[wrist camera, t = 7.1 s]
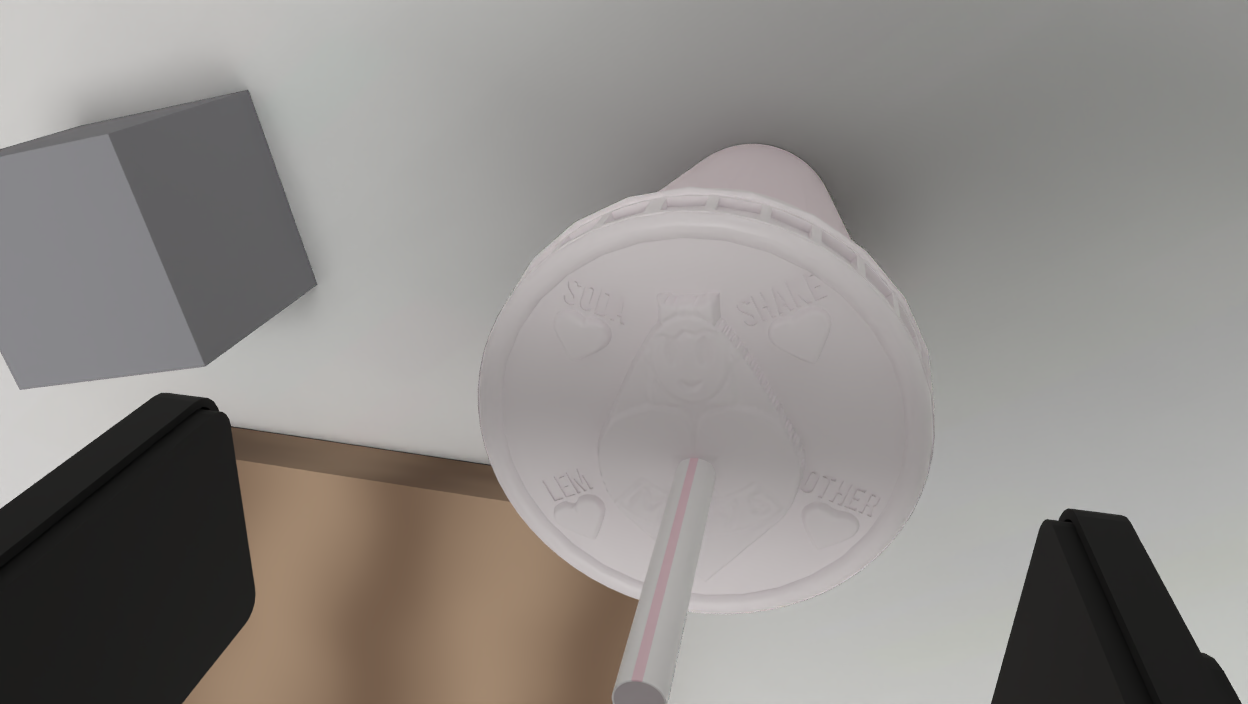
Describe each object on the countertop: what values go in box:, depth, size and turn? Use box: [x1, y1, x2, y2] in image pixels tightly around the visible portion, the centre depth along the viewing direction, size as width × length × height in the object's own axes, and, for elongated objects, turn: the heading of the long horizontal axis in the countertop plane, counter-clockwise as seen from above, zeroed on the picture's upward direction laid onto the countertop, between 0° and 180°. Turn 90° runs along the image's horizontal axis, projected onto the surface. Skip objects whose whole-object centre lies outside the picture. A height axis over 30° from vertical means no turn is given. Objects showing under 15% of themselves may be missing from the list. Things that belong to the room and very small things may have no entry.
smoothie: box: [478, 144, 935, 704], centre depth 15 cm, size 6×6×14 cm
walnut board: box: [182, 427, 639, 704], centre depth 29 cm, size 15×15×2 cm
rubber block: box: [0, 90, 317, 390], centre depth 22 cm, size 5×5×5 cm
